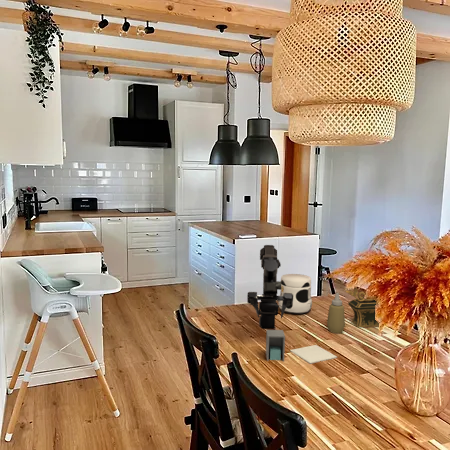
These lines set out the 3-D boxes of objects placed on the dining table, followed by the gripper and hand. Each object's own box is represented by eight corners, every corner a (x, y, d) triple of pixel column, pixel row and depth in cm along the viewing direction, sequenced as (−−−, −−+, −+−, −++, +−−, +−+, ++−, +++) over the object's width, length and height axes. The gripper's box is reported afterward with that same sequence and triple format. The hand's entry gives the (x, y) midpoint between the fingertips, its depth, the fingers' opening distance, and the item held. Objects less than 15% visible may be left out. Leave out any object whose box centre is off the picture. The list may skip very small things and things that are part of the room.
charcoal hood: (282, 354, 172) (282, 330, 171) (284, 361, 165) (285, 336, 164) (265, 354, 172) (266, 329, 171) (267, 361, 165) (267, 335, 164)
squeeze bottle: (346, 329, 200) (348, 291, 198) (343, 335, 192) (345, 296, 190) (328, 327, 203) (330, 289, 201) (324, 332, 196) (326, 294, 194)
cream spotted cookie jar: (273, 306, 233) (274, 274, 230) (303, 305, 237) (304, 272, 235) (285, 317, 216) (286, 282, 214) (317, 315, 220) (318, 280, 218)
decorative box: (378, 320, 214) (380, 281, 211) (388, 327, 204) (391, 286, 202) (340, 321, 211) (342, 282, 208) (348, 328, 201) (350, 287, 199)
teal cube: (279, 355, 171) (279, 346, 170) (280, 360, 167) (280, 350, 166) (269, 355, 171) (269, 345, 170) (270, 360, 167) (270, 350, 166)
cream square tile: (316, 345, 181) (316, 344, 181) (337, 357, 169) (337, 356, 169) (290, 351, 175) (290, 350, 175) (310, 363, 164) (310, 362, 164)
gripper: (247, 273, 178) (246, 308, 169) (293, 274, 176) (295, 310, 167) (247, 285, 187) (246, 319, 178) (291, 287, 186) (292, 321, 177)
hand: (270, 317), depth 175 cm, fingers open, 9 cm apart
